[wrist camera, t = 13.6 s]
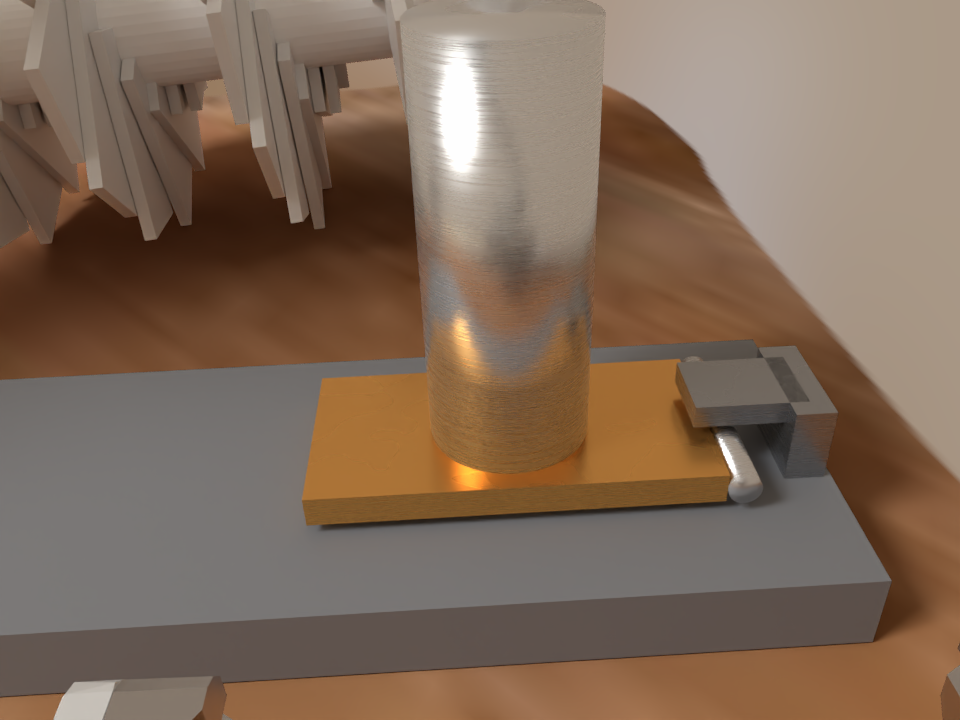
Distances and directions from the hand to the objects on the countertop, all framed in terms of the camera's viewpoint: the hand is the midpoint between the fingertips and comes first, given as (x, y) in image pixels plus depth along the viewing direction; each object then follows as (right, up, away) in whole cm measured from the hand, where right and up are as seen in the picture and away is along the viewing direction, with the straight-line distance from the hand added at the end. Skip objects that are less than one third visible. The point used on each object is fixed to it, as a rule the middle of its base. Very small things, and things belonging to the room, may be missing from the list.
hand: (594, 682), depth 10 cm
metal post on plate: (0, +1, +14) cm, 14 cm away
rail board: (-5, -1, +15) cm, 16 cm away
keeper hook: (+6, +1, +14) cm, 15 cm away
